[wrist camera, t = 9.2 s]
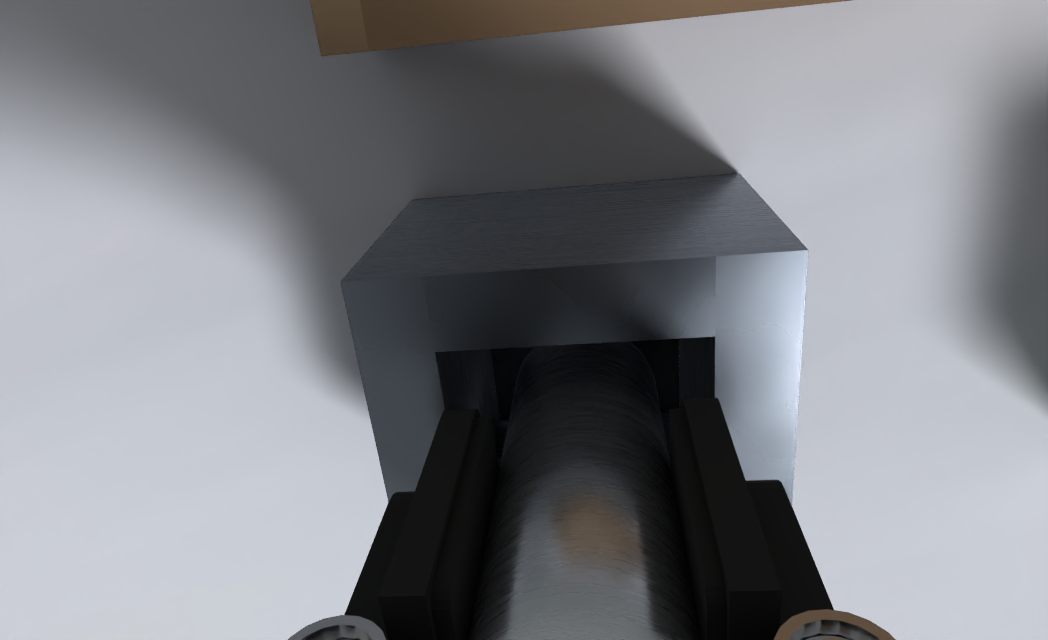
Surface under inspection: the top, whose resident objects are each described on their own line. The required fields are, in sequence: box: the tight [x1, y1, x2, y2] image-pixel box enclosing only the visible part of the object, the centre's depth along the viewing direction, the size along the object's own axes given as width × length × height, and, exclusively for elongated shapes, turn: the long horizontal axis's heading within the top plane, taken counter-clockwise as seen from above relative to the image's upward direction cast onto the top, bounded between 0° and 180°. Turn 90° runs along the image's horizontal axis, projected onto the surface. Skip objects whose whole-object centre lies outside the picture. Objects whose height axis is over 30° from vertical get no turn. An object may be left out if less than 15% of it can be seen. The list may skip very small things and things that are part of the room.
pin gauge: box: [468, 341, 701, 640], centre depth 10 cm, size 3×3×10 cm
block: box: [341, 174, 808, 506], centre depth 14 cm, size 7×7×5 cm
